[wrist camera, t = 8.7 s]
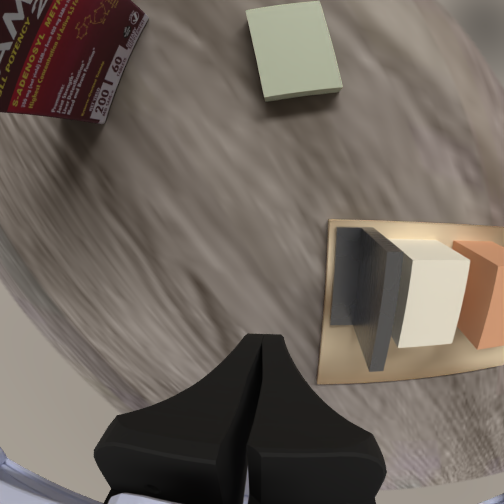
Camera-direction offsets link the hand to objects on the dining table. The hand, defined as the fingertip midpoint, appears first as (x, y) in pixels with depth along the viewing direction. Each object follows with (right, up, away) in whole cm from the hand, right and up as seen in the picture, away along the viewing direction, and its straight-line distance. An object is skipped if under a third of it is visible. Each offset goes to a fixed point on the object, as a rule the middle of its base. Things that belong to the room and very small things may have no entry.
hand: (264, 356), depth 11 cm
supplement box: (-11, +17, +6) cm, 21 cm away
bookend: (+6, +2, +8) cm, 10 cm away
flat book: (+2, +16, +5) cm, 17 cm away
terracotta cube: (+15, +2, +7) cm, 16 cm away
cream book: (+10, +2, +7) cm, 12 cm away
